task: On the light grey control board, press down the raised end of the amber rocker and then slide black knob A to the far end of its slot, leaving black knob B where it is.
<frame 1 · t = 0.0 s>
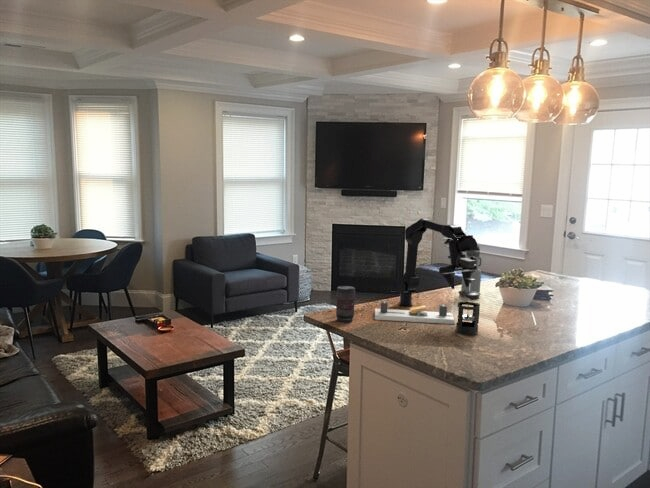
hand: (460, 287, 243), 15 cm above the counter, tool pointing down, fingers open, 9 cm apart
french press: (467, 332, 230), on the counter
panel: (413, 318, 249), on the counter
camera lens: (344, 321, 241), on the counter
slider b: (443, 309, 247), point 5 cm above the counter, slide at 0.0 cm
slider a: (384, 306, 249), point 5 cm above the counter, slide at 0.0 cm
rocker: (418, 309, 248), point 4 cm above the counter, hinge at 14.0°
water bottle: (470, 296, 297), on the counter
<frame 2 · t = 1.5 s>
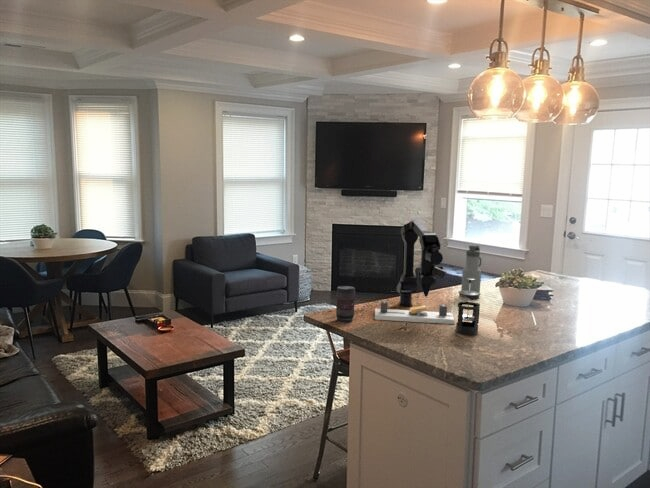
hand: (425, 295, 247), 11 cm above the counter, tool pointing down, fingers open, 5 cm apart
nothing on the counter moved.
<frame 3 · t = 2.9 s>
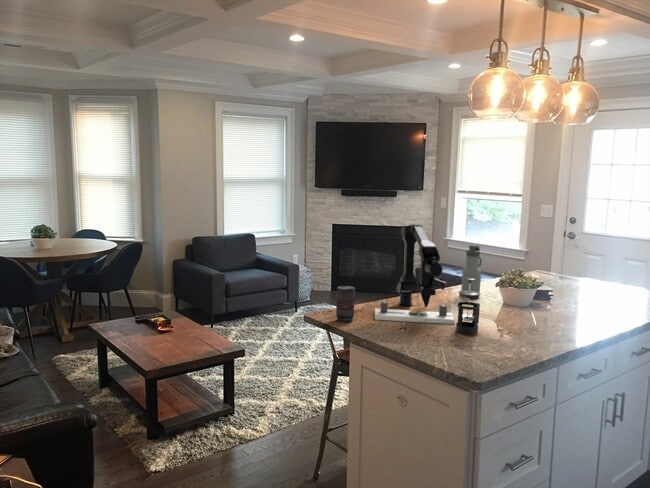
hand: (426, 306, 247), 6 cm above the counter, tool pointing down, fingers closed, pressing on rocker
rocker: (418, 309, 248), point 4 cm above the counter, hinge at 10.0°, touching gripper
everything else where it was.
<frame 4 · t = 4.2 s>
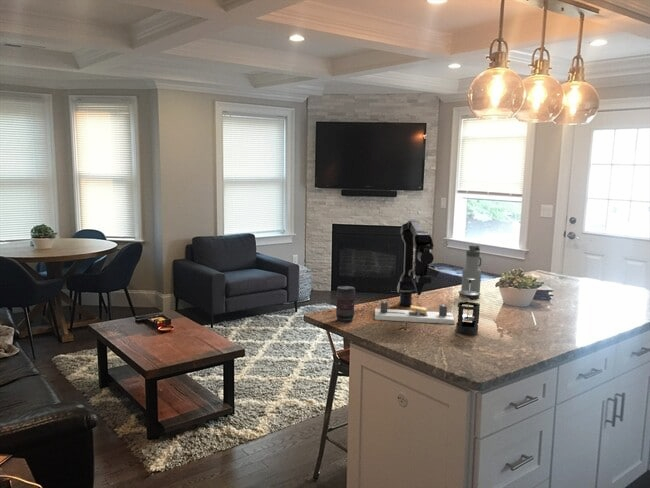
hand: (418, 294, 247), 11 cm above the counter, tool pointing down, fingers closed
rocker: (418, 309, 248), point 4 cm above the counter, hinge at -8.4°
everything else where it was.
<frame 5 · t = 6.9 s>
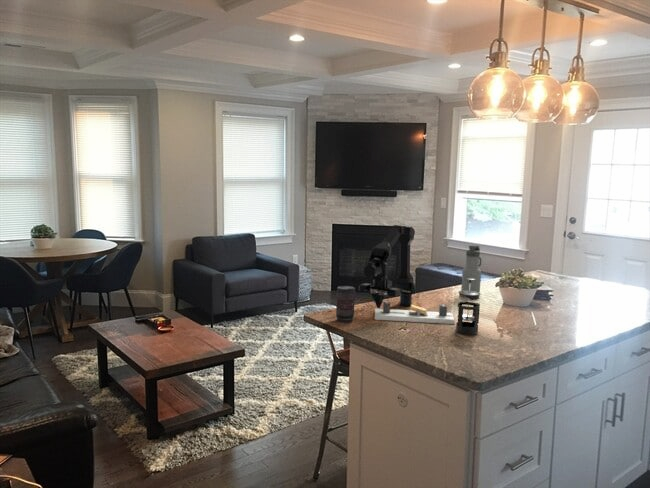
hand: (378, 308, 250), 4 cm above the counter, tool pointing down, fingers closed
slider a: (386, 306, 249), point 5 cm above the counter, slide at 1.2 cm, touching gripper
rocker: (418, 309, 248), point 4 cm above the counter, hinge at -15.4°
everything else where it was.
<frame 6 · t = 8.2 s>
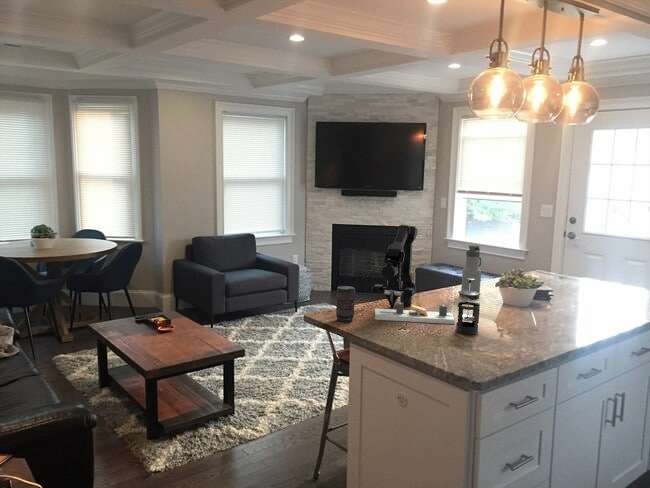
hand: (392, 308, 249), 4 cm above the counter, tool pointing down, fingers closed
slider a: (399, 307, 249), point 5 cm above the counter, slide at 7.2 cm, touching gripper
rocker: (418, 309, 248), point 4 cm above the counter, hinge at -15.9°
everything else where it was.
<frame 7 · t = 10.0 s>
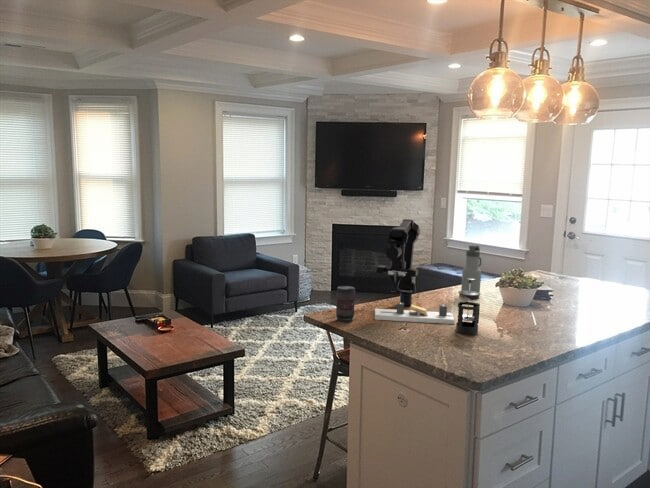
hand: (396, 289, 252), 12 cm above the counter, tool pointing down, fingers closed
slider a: (400, 307, 248), point 5 cm above the counter, slide at 7.4 cm
everything else where it was.
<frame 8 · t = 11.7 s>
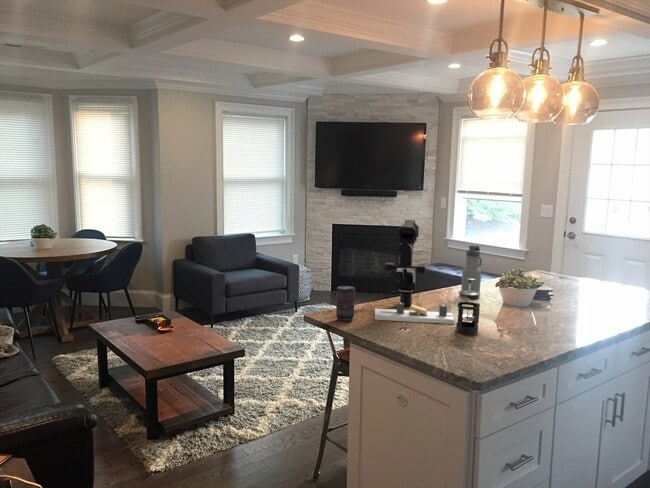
hand: (404, 286, 255), 13 cm above the counter, tool pointing down, fingers closed
nothing on the counter moved.
at the end: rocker at -16° (first picture: +14°); slider a slide at 7.4 cm; slider b slide at 0.0 cm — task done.
